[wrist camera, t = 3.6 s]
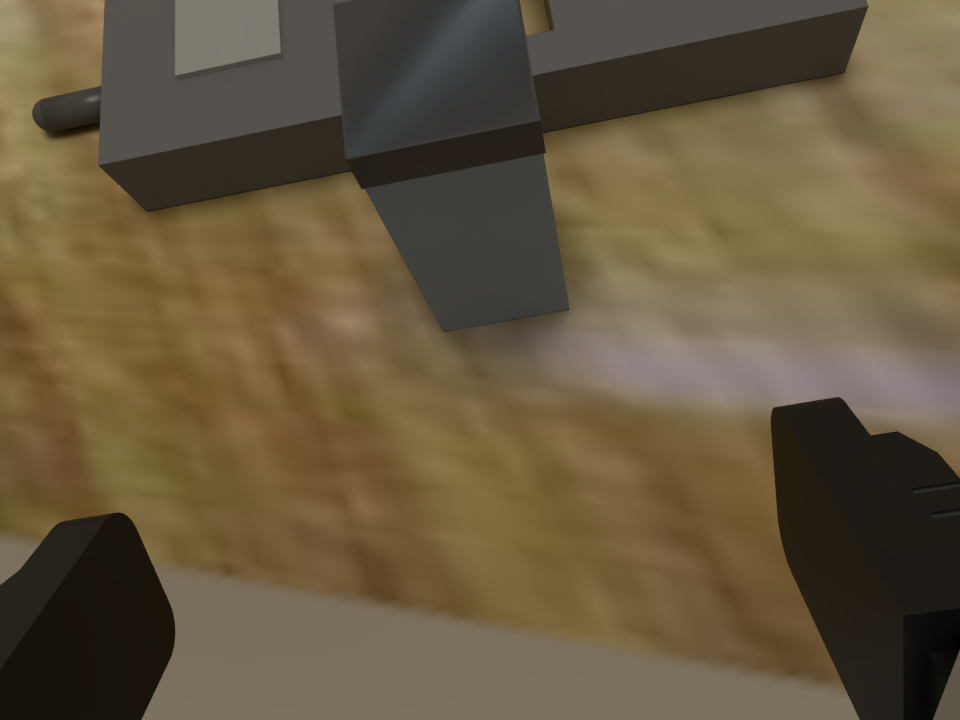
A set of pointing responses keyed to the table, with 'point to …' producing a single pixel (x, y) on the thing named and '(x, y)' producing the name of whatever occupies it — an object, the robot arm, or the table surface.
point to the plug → (452, 152)
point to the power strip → (316, 91)
